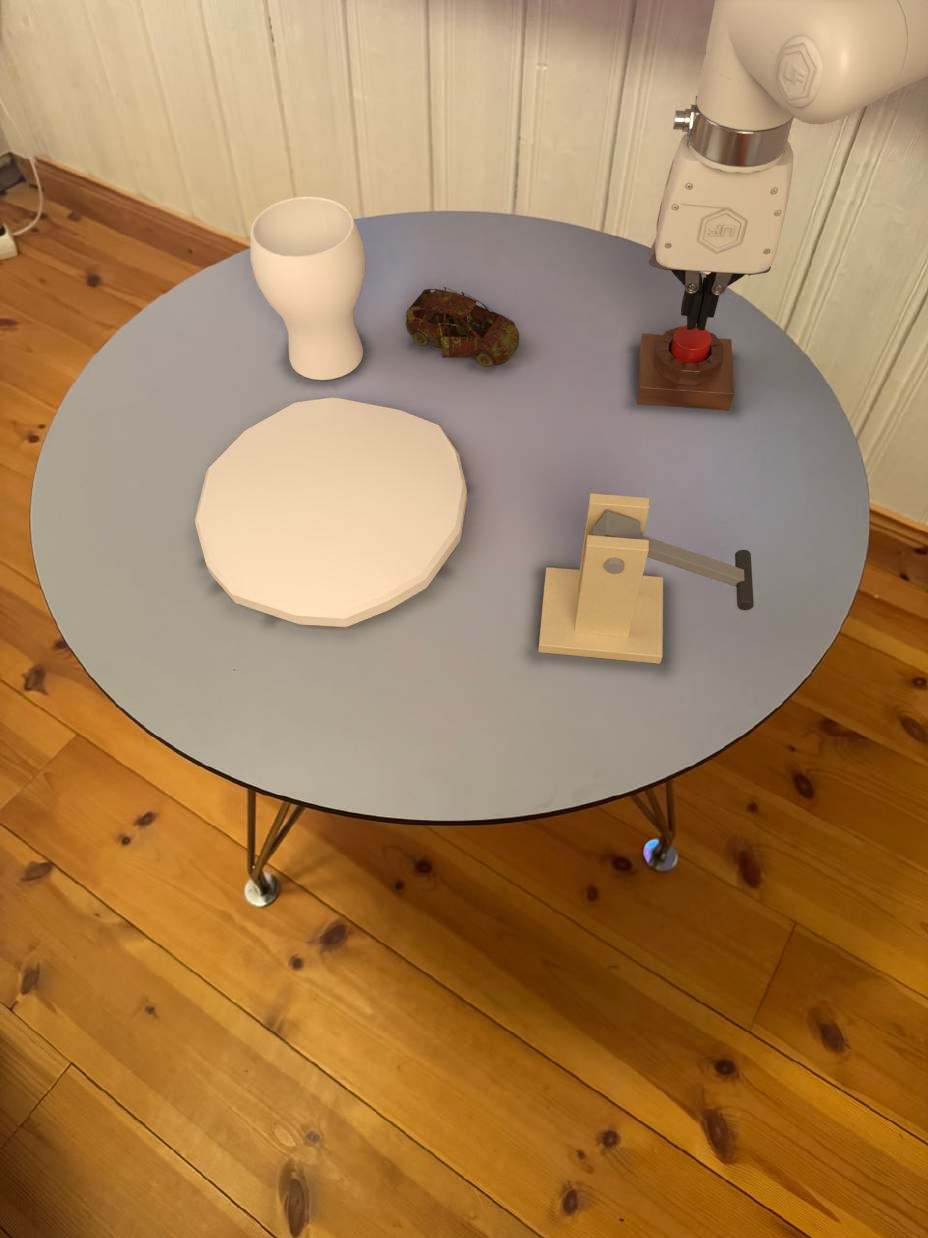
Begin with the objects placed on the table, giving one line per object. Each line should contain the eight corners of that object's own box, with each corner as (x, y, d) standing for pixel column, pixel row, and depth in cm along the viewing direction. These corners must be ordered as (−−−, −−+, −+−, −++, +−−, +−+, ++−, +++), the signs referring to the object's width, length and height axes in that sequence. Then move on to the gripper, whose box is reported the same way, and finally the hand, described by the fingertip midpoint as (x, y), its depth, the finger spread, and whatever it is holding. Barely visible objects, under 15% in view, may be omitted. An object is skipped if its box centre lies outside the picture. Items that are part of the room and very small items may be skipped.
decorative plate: (259, 361, 90) (502, 415, 85) (268, 393, 94) (501, 446, 89) (131, 556, 77) (408, 631, 73) (147, 584, 81) (412, 658, 76)
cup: (255, 367, 96) (220, 238, 83) (316, 310, 101) (291, 180, 88) (337, 404, 93) (314, 275, 80) (396, 343, 98) (383, 212, 85)
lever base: (661, 584, 80) (687, 485, 69) (660, 664, 75) (688, 570, 65) (545, 574, 80) (554, 474, 70) (538, 652, 76) (546, 558, 65)
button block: (726, 355, 95) (735, 324, 92) (729, 410, 91) (738, 379, 88) (639, 350, 96) (644, 318, 93) (637, 404, 92) (643, 372, 88)
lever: (740, 564, 74) (758, 547, 72) (743, 616, 71) (761, 600, 69) (593, 514, 71) (607, 495, 69) (590, 566, 68) (605, 548, 66)
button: (707, 340, 91) (711, 325, 90) (708, 364, 89) (712, 350, 88) (671, 337, 92) (673, 323, 90) (670, 362, 90) (673, 348, 88)
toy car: (396, 348, 97) (392, 310, 93) (427, 309, 100) (425, 271, 96) (499, 382, 94) (499, 344, 90) (527, 341, 97) (529, 302, 93)
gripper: (642, 150, 71) (614, 341, 86) (842, 160, 70) (777, 352, 85) (644, 99, 75) (617, 290, 90) (833, 108, 74) (773, 300, 89)
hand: (695, 320), depth 88 cm, fingers closed
